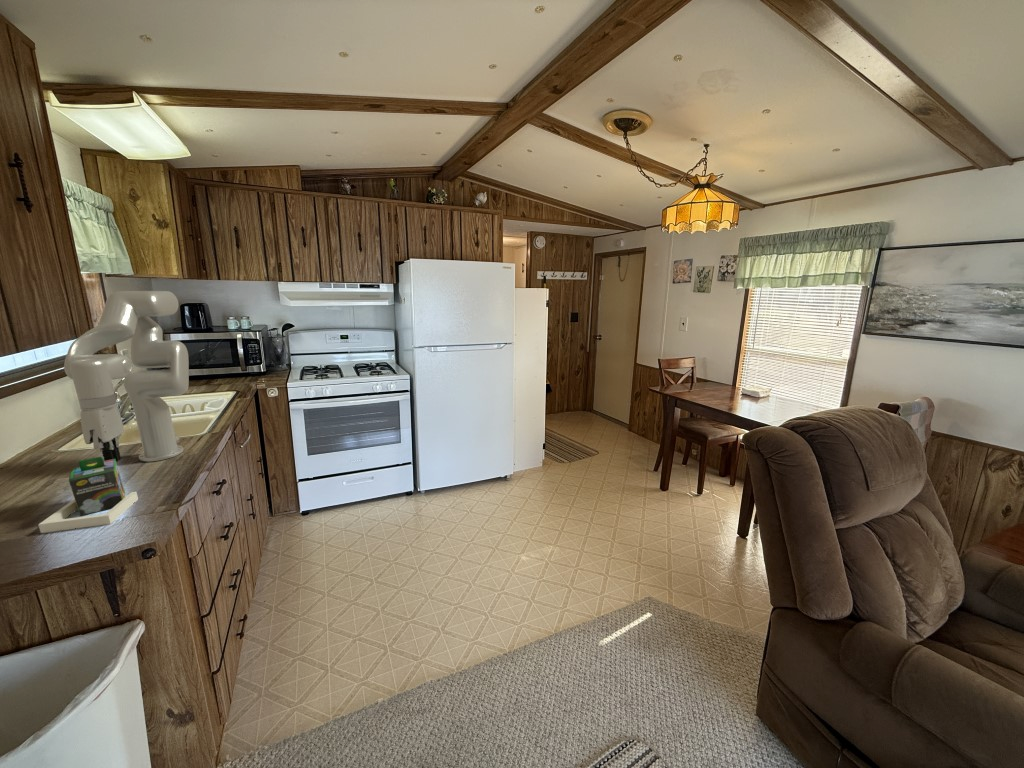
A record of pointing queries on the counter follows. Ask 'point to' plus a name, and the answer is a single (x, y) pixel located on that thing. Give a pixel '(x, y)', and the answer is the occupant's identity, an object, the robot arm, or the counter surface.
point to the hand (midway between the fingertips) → (113, 461)
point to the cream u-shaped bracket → (60, 523)
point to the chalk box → (96, 485)
